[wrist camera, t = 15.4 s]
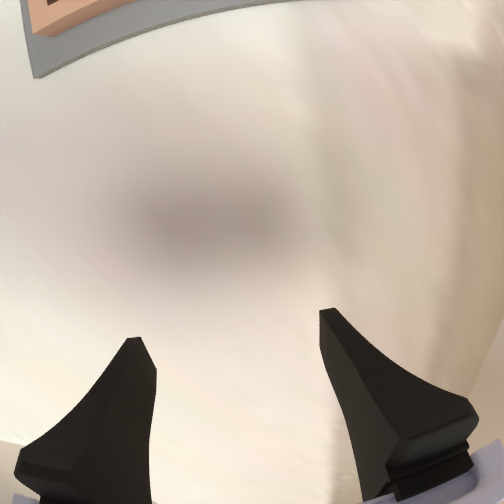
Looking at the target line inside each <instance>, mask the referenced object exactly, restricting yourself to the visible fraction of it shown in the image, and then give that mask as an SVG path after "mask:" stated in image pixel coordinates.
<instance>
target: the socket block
mask: <svg viewBox="0 0 504 504" xmlns="http://www.w3.org/2000/svg"><path fill="white" fill-rule="evenodd" d="M287 1H298V0H20V4H21V12H22V19H23V26H24V32H25V38H26V44H27V49H28V54H29V59H30V64H31V69H32V73H33V78H42V77H44V76H46V75H48V74H50V73H52V72H53V71H55V70H57V69H59V68H61V67H63V66H65V65H67V64H69V63H71V62H73V61H76V60H78V59H80V58H82V57H84V56H86V55H89V54H91V53H93V52H95V51H98V50H100V49H102V48H105V47H107V46H110V45H112V44H115V43H117V42H120V41H123V40H125V39H128V38H131V37H133V36H136V35H139V34H142V33H145V32H148V31H151V30H154V29H157V28H160V27H164V26H167V25H170V24H174V23H177V22H181V21H184V20H188V19H192V18H196V17H200V16H204V15H209V14H213V13H218V12H222V11H227V10H233V9H238V8H244V7H250V6H256V5H263V4H270V3H278V2H287Z"/></svg>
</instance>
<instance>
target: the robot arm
mask: <svg viewBox="0 0 504 504" xmlns="http://www.w3.org/2000/svg"><path fill="white" fill-rule="evenodd" d="M319 316H320V350H321V354H322V358H323V361H324V365H325V368H326V371H327V374H328V376H329V379H330V381H331V384H332V386H333V389H334V391H335V394H336V396H337V399H338V401H339V404H340V406H341V409H342V412H343V414H344V417H345V421H346V424H347V428H348V432H349V436H350V440H351V444H352V448H353V453H354V457H355V461H356V466H357V471H358V476H359V481H360V487H361V492H362V499H363V502H362V503H359V504H498V503H500V502H502V501H503V500H504V447H503V445H502V443H501V441H500V440H499V439H496V440H495V441H493V442H491V443H490V444H488V445H486V446H484V447H482V448H481V449H479V450H477V451H476V452H474V453H473V454H471V455H470V456H469V453H468V451H467V450H468V449H469V444H468V442H467V440H466V439H467V438H468V437H469V435H470V434H471V433H472V432H473V430H474V429H475V428H476V426H477V424H478V421H479V417H478V415H477V413H476V411H475V410H474V408H473V406H472V405H471V403H470V402H469V401H468V399H467V398H465V397H462V396H459V395H456V394H453V393H451V392H448V391H445V390H443V389H441V388H438V387H436V386H434V385H432V384H430V383H428V382H426V381H424V380H422V379H420V378H418V377H417V376H415V375H413V374H411V373H410V372H408V371H406V370H405V369H403V368H402V367H400V366H399V365H397V364H396V363H394V362H393V361H392V360H390V359H389V358H388V357H386V356H385V355H384V354H383V353H381V352H380V351H379V350H378V349H377V348H375V347H374V346H373V345H372V344H371V343H370V342H369V341H368V340H366V339H365V338H364V337H363V336H362V335H361V334H360V333H359V332H358V331H357V330H356V329H355V328H354V327H353V326H352V325H351V324H350V323H349V322H348V321H347V320H346V319H345V318H344V317H343V316H342V314H341V313H340V312H339V311H338V310H337V309H336V308H329V309H324V310H319ZM156 378H157V369H156V367H155V365H154V363H153V361H152V359H151V357H150V355H149V353H148V351H147V349H146V347H145V345H144V343H143V341H142V339H141V337H134V338H127V339H126V341H125V342H124V343H123V345H122V346H121V348H120V349H119V351H118V352H117V353H116V355H115V356H114V358H113V359H112V361H111V362H110V364H109V365H108V366H107V368H106V369H105V371H104V372H103V373H102V375H101V376H100V377H99V379H98V380H97V381H96V383H95V384H94V385H93V386H92V388H91V389H90V390H89V392H88V393H87V394H86V395H85V396H84V398H83V399H82V400H81V401H80V402H79V403H78V404H77V405H76V406H75V407H74V408H73V409H72V410H71V411H70V412H69V413H68V414H67V415H66V416H65V417H64V418H63V419H62V420H61V421H60V422H59V423H57V424H56V425H55V426H54V427H53V428H51V429H50V430H49V431H48V432H46V433H45V434H44V435H42V436H41V437H39V438H38V439H36V440H35V441H33V442H32V443H30V444H29V445H27V446H25V447H24V448H22V449H21V450H20V453H19V456H18V460H17V463H16V467H15V470H14V475H15V477H16V478H17V479H18V480H19V481H20V482H21V483H22V484H24V485H25V486H27V487H28V488H30V489H31V490H33V491H34V492H36V493H37V494H39V495H40V496H41V497H40V501H38V500H36V499H33V498H31V497H27V496H24V495H21V494H18V493H15V494H14V496H13V501H12V504H152V500H151V490H150V476H149V438H150V430H151V423H152V416H153V409H154V402H155V396H156Z"/></svg>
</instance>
